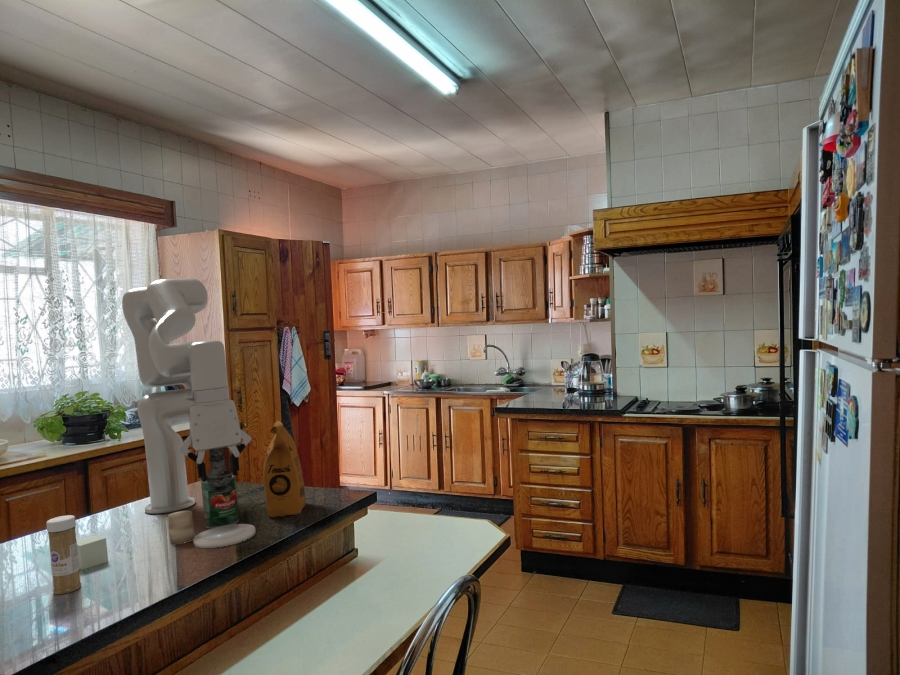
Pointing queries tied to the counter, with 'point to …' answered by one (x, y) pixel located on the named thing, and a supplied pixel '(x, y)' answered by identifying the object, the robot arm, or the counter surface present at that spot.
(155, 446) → the robot arm
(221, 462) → the dark grey chess piece
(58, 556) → the sprinkles bottle
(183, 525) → the beige rounded cylinder
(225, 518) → the canned tomato
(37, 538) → the counter surface
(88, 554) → the sage block
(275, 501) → the coffee package
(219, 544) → the plate
